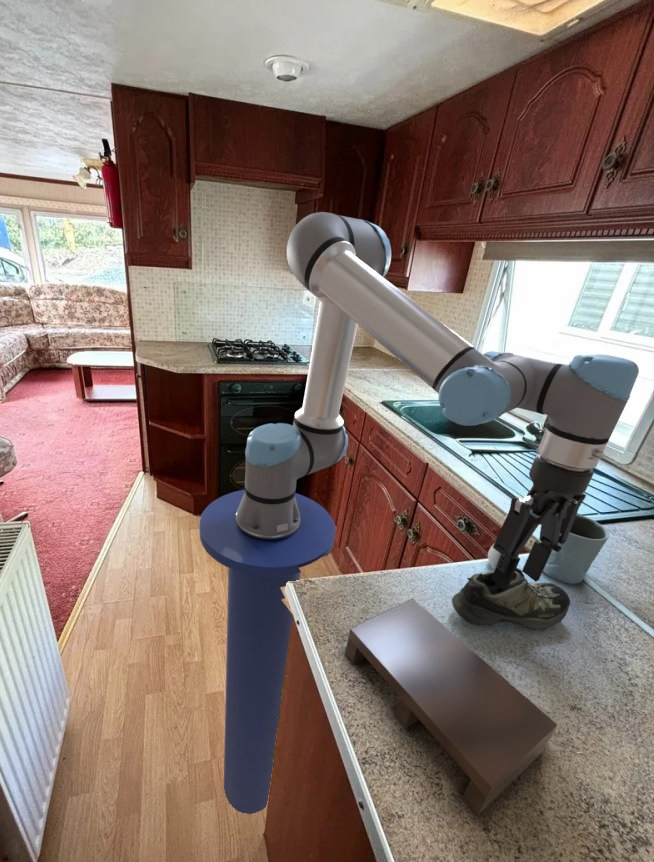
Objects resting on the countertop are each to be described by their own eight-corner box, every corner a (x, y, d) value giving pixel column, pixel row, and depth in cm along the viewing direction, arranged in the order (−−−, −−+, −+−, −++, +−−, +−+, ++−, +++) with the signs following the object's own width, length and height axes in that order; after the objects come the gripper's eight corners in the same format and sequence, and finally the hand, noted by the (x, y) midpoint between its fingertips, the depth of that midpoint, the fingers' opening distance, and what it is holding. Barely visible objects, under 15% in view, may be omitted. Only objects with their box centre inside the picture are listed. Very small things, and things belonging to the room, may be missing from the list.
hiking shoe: (579, 628, 72) (600, 588, 68) (469, 637, 69) (484, 596, 65) (544, 593, 79) (561, 555, 75) (444, 599, 76) (456, 560, 72)
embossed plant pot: (596, 579, 86) (619, 533, 82) (568, 592, 82) (591, 544, 77) (550, 551, 95) (569, 507, 90) (522, 561, 90) (540, 516, 85)
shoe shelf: (344, 655, 65) (349, 628, 63) (405, 623, 72) (412, 598, 69) (476, 816, 47) (491, 787, 44) (541, 753, 53) (557, 724, 51)
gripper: (541, 480, 53) (489, 608, 63) (633, 465, 60) (574, 583, 70) (496, 455, 60) (455, 576, 69) (584, 445, 67) (535, 556, 76)
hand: (515, 579), depth 70 cm, fingers closed on hiking shoe, 7 cm apart
